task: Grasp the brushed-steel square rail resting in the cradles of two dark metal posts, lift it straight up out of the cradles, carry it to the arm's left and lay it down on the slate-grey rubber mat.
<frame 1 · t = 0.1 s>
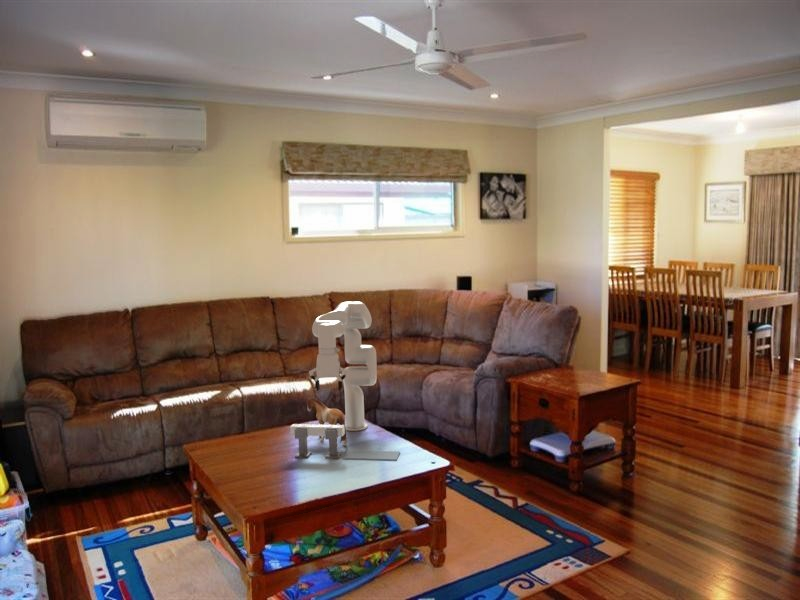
hand: (329, 389, 295), 31 cm above the table, fingers open, 9 cm apart
horse figurine: (326, 444, 318), on the table
mat: (371, 455, 300), on the table
post a: (303, 455, 303), on the table
rail: (317, 434, 301), point 10 cm above the table, touching post a, post b
post b: (333, 456, 301), on the table
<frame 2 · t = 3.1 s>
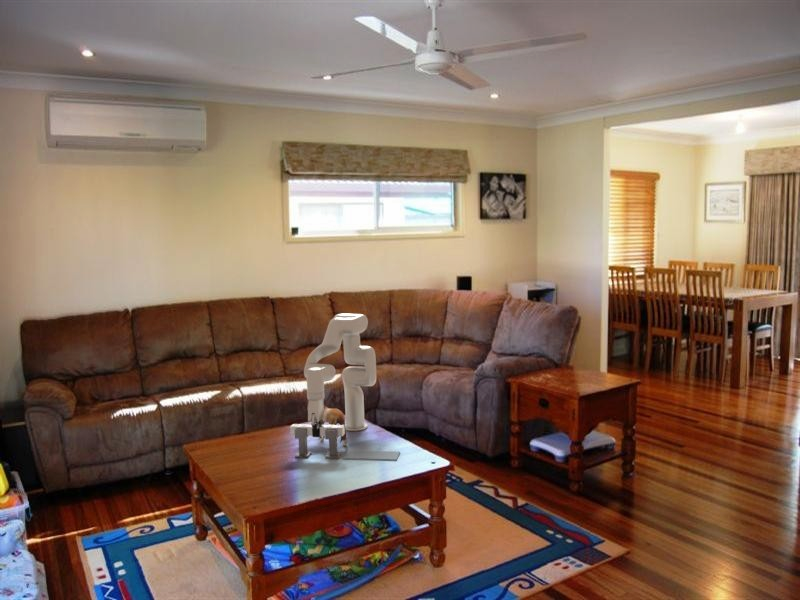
hand: (317, 434, 301), 10 cm above the table, fingers closed on rail, 4 cm apart
rail: (317, 434, 301), point 10 cm above the table, touching gripper, post b
everything else where it was.
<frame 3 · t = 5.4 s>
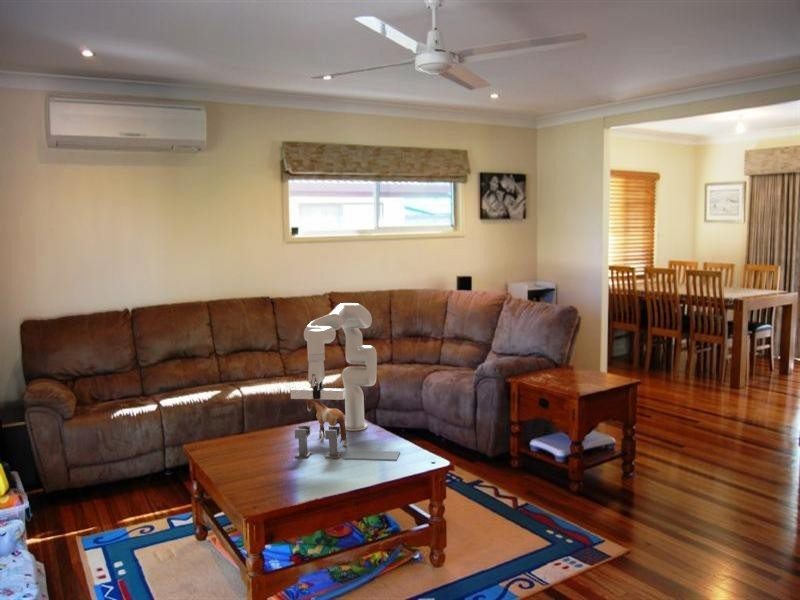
hand: (318, 397, 299), 27 cm above the table, fingers closed on rail, 4 cm apart
rail: (318, 398, 299), point 27 cm above the table, touching gripper
everything else where it was.
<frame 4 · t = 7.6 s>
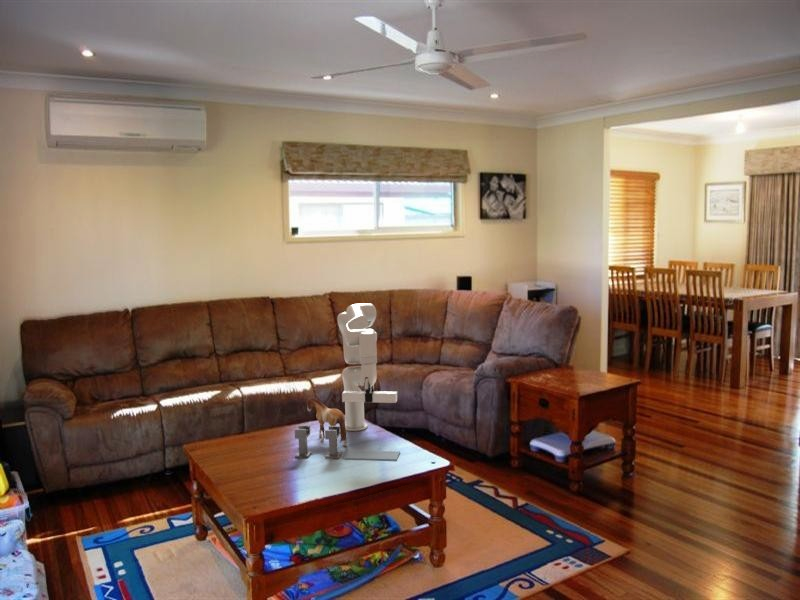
hand: (369, 400, 297), 26 cm above the table, fingers closed on rail, 4 cm apart
rail: (369, 401, 297), point 25 cm above the table, touching gripper
everything else where it was.
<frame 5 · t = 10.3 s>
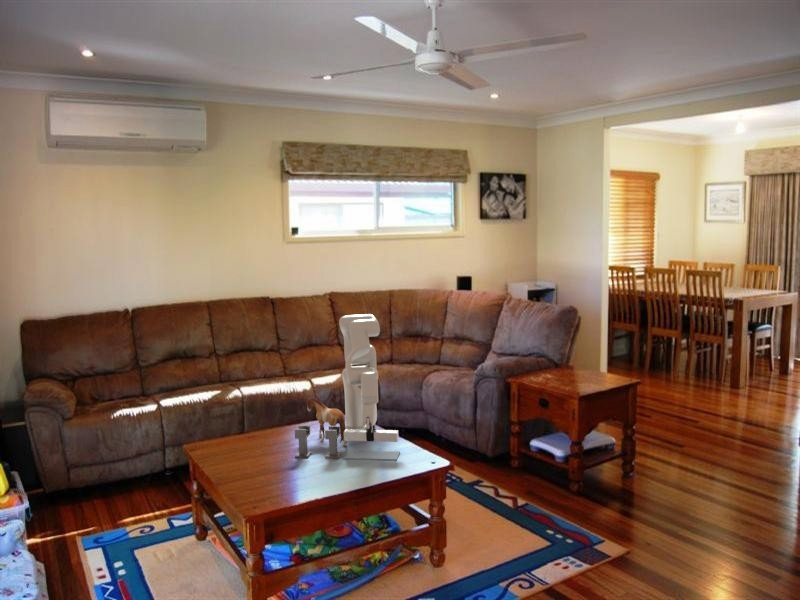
hand: (371, 438, 299), 8 cm above the table, fingers closed on rail, 4 cm apart
rail: (371, 439, 299), point 7 cm above the table, touching gripper
everything else where it was.
when the fingers open (2 cm above the table, at t = 12.4 s): rail drops 1 cm, resting on mat.
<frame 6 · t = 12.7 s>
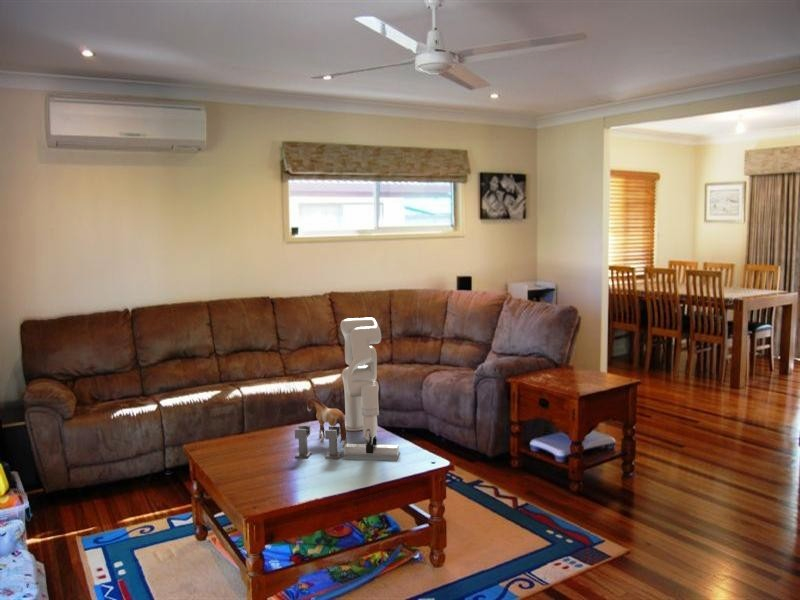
hand: (371, 450, 300), 3 cm above the table, fingers open, 7 cm apart
rail: (371, 454, 300), point 1 cm above the table, touching mat
everything else where it was.
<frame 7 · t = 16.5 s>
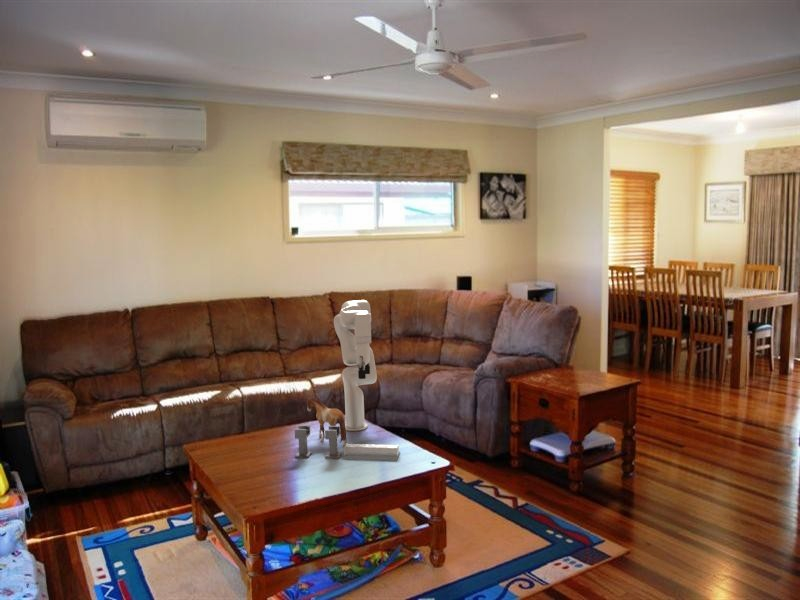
hand: (364, 376, 310), 33 cm above the table, fingers open, 9 cm apart
nothing on the table moved.
at the end: rail inside the target area (0.6 cm from its centre), point 0.6 cm above the table; rail touching mat; the gripper is holding nothing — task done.
